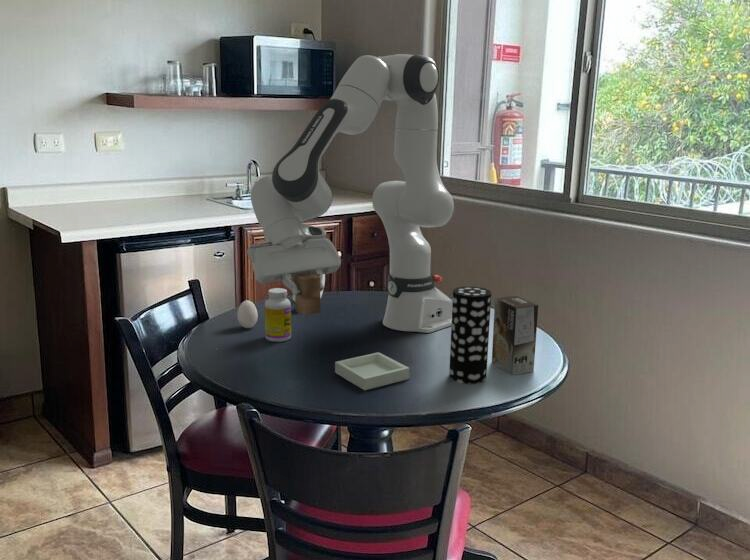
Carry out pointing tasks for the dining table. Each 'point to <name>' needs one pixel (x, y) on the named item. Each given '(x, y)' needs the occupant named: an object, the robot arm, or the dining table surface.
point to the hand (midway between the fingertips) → (309, 292)
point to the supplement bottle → (277, 316)
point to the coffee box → (514, 334)
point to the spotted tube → (469, 334)
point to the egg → (247, 314)
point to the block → (308, 294)
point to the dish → (372, 370)
